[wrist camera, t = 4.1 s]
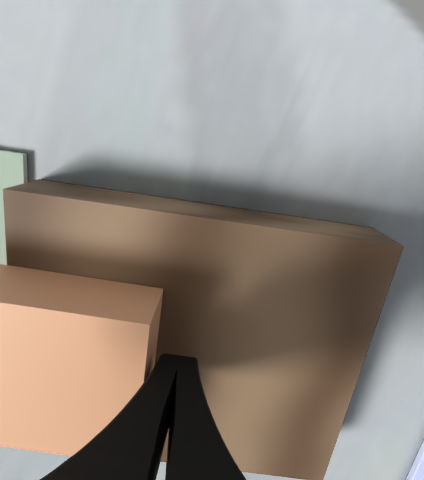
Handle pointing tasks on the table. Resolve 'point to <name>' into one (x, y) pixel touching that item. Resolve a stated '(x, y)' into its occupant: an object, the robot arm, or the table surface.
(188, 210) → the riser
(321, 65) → the table surface
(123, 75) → the table surface
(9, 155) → the mat
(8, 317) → the block
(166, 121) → the table surface
